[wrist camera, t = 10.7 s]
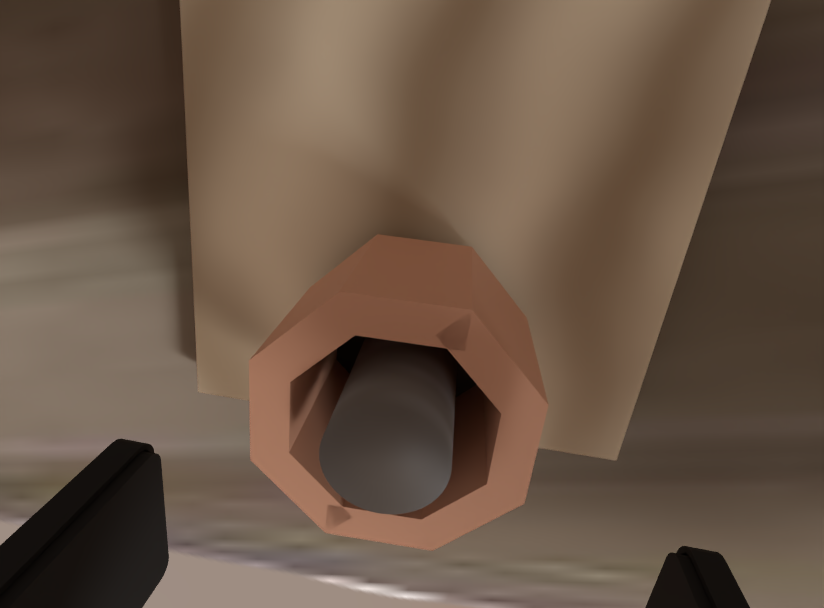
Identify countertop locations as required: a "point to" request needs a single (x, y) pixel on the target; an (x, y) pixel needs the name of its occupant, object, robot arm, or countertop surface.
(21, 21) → the countertop surface
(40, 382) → the countertop surface
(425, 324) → the collar
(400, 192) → the post board
